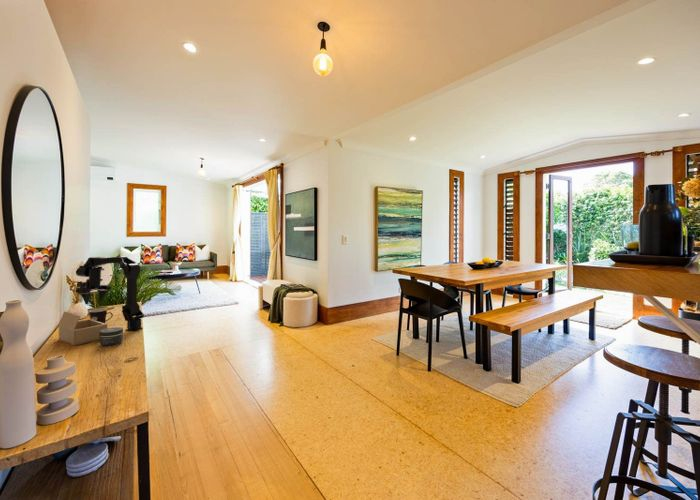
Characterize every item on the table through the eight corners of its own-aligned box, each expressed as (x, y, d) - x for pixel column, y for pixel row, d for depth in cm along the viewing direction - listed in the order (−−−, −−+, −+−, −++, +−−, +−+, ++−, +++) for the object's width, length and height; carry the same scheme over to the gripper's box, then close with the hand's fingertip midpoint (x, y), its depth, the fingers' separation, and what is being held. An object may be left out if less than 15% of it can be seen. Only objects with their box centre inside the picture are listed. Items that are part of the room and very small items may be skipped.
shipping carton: (91, 332, 181) (91, 318, 180) (107, 338, 171) (107, 324, 171) (58, 339, 168) (58, 324, 167) (74, 346, 159) (74, 330, 158)
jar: (118, 346, 160) (118, 331, 160) (95, 348, 157) (95, 333, 157) (126, 340, 170) (126, 326, 169) (104, 341, 166) (104, 327, 166)
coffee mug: (85, 327, 189) (85, 311, 189) (100, 323, 198) (100, 308, 197) (99, 329, 186) (99, 313, 186) (114, 325, 194) (114, 310, 194)
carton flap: (59, 324, 167) (65, 311, 169) (74, 329, 159) (80, 316, 161) (58, 324, 167) (64, 311, 169) (73, 329, 159) (79, 316, 160)
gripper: (96, 275, 200) (94, 299, 200) (67, 278, 182) (66, 304, 182) (112, 276, 199) (111, 300, 200) (85, 279, 181) (83, 306, 181)
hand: (93, 302), depth 191 cm, fingers open, 9 cm apart
